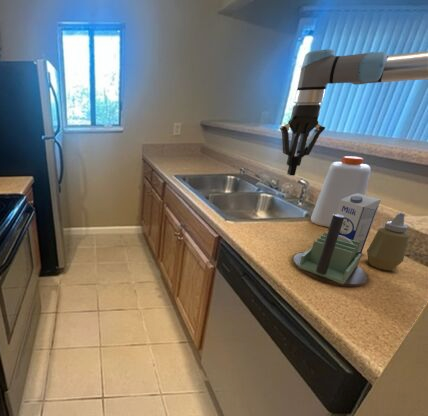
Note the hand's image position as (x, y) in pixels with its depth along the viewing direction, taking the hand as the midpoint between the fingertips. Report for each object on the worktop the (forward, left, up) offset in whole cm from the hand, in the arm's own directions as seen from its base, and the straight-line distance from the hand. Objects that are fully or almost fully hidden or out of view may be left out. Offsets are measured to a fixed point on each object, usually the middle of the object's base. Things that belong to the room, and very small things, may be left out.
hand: (290, 174), depth 98 cm
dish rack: (-16, +17, -23) cm, 33 cm away
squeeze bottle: (-29, +5, -25) cm, 38 cm away
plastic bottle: (-17, -27, -25) cm, 40 cm away
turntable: (-16, +17, -24) cm, 34 cm away
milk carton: (-20, 0, -25) cm, 32 cm away
